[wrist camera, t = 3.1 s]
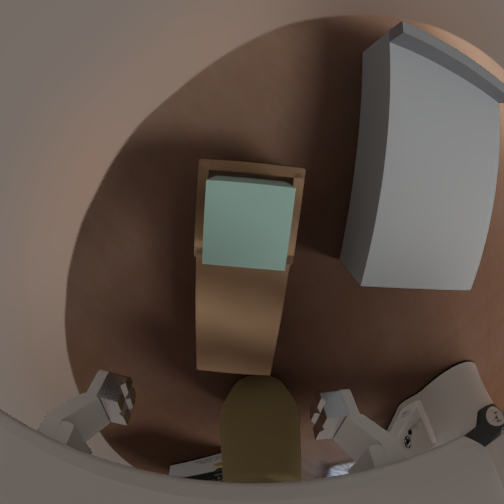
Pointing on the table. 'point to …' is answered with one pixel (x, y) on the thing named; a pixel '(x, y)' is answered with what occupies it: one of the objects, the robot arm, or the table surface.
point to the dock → (422, 164)
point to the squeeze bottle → (260, 432)
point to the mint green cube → (247, 222)
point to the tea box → (200, 469)
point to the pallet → (240, 286)
